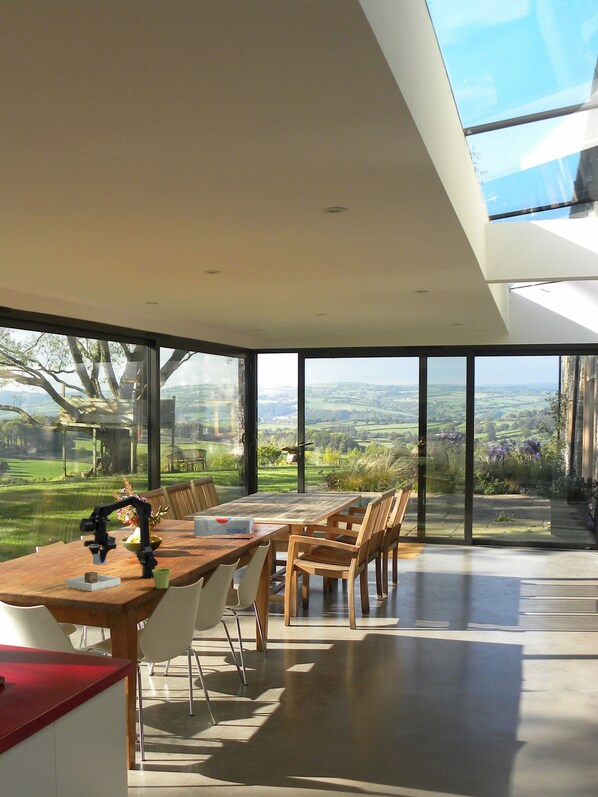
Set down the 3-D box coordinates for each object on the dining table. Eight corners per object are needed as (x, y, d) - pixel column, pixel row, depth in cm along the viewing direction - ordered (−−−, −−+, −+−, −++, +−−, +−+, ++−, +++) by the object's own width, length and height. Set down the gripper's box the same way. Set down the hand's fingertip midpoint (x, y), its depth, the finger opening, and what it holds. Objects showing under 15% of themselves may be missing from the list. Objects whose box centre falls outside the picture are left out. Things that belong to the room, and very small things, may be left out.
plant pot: (148, 589, 382) (148, 571, 382) (158, 585, 391) (158, 567, 391) (164, 590, 379) (164, 572, 379) (174, 586, 387) (174, 569, 388)
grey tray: (120, 585, 391) (120, 578, 391) (91, 591, 376) (91, 584, 376) (94, 580, 402) (94, 573, 402) (65, 586, 388) (65, 579, 388)
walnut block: (97, 582, 394) (97, 572, 394) (90, 584, 390) (90, 574, 390) (91, 581, 396) (91, 571, 396) (84, 582, 393) (84, 572, 393)
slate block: (106, 564, 390) (106, 554, 390) (98, 565, 387) (99, 555, 387) (100, 563, 393) (100, 553, 393) (93, 564, 389) (93, 554, 390)
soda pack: (254, 537, 549) (254, 517, 549) (250, 540, 536) (250, 519, 536) (199, 535, 556) (199, 516, 556) (193, 538, 543) (193, 518, 543)
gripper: (125, 531, 391) (124, 562, 391) (101, 527, 403) (100, 558, 402) (107, 533, 382) (106, 565, 382) (83, 529, 394) (82, 560, 393)
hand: (99, 562), depth 390 cm, fingers closed on slate block, 4 cm apart
